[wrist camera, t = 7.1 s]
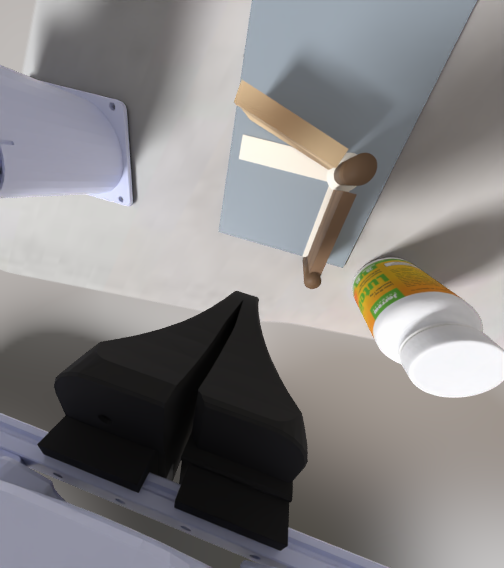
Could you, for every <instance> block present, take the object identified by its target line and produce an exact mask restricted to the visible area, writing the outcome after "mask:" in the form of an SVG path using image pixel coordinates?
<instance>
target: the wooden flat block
mask: <svg viewBox="0 0 504 568" xmlns="http://www.w3.org/2000/svg"><path fill="white" fill-rule="evenodd" d="M234 102H235V104H236V105H237V106H239V107H240V108H241V109H242V110H243V111H244V113H245V114H246V115H247V117H248V118H249V119H250V120H251V121H253V122H254V123H256V124H258V125H259V126H261V127H262V128H264V129H265V130H267V131H268V132H270V133H272V134H273V135H275V136H276V137H278V138H279V139H281V140H282V141H284V142H286V143H287V144H289V145H290V146H292V147H293V148H295V149H297V150H298V151H300V152H301V153H303V154H304V155H306V156H307V157H309V158H311V159H312V160H314V161H315V162H317V163H318V164H320V165H322V166H323V167H325V168H326V169H328V170H330V169H332V168H337V166H338V165H339V163H340V161H341V160H342V158H343V157H344V155H345V154H346V152H347V151H348V148H346V147H345V146H343V145H342V144H340V143H339V142H337V141H336V140H334V139H333V138H331V137H329V136H328V135H326V134H325V133H323V132H322V131H320V130H319V129H317V128H316V127H314V126H313V125H311V124H310V123H308V122H306V121H305V120H303V119H302V118H300V117H299V116H297V115H296V114H294V113H293V112H291V111H290V110H288V109H287V108H285V107H283V106H282V105H280V104H279V103H277V102H276V101H274V100H273V99H271V98H270V97H268V96H267V95H265V94H264V93H262V92H260V91H259V90H257V89H256V88H254V87H253V86H251V85H250V84H248V83H247V82H245V81H244V80H242V81H241V83H240V86H239V89H238V92H237V95H236V98H235V100H234Z"/></svg>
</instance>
